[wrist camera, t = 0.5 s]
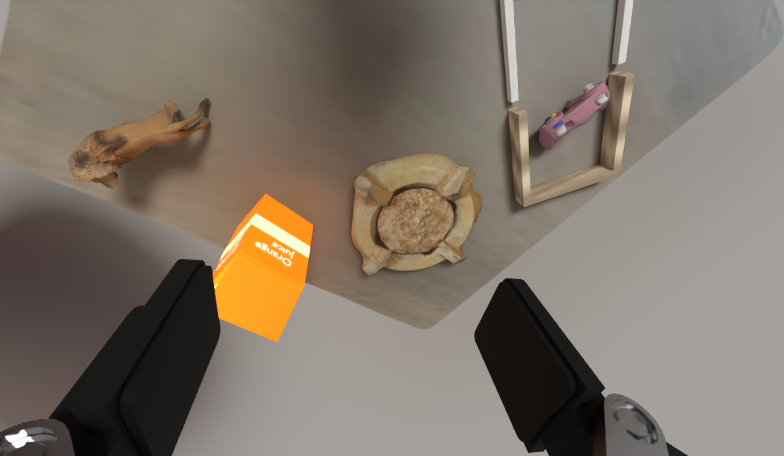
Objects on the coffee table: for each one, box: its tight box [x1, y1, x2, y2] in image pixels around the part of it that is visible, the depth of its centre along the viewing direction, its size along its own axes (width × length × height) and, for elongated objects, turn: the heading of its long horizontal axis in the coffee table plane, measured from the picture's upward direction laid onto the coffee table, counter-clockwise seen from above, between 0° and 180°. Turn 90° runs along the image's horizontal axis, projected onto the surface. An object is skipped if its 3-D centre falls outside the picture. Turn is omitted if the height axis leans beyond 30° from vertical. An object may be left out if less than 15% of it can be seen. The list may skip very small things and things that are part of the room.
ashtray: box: [351, 153, 482, 276], centre depth 49 cm, size 24×24×5 cm
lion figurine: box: [68, 98, 210, 188], centre depth 34 cm, size 15×5×9 cm, turn 117°
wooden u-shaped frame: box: [508, 71, 635, 207], centre depth 46 cm, size 15×16×3 cm
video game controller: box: [539, 81, 610, 150], centre depth 42 cm, size 10×5×7 cm, turn 131°
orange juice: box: [213, 194, 313, 342], centre depth 39 cm, size 8×9×20 cm
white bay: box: [500, 0, 633, 102], centre depth 38 cm, size 14×16×1 cm
